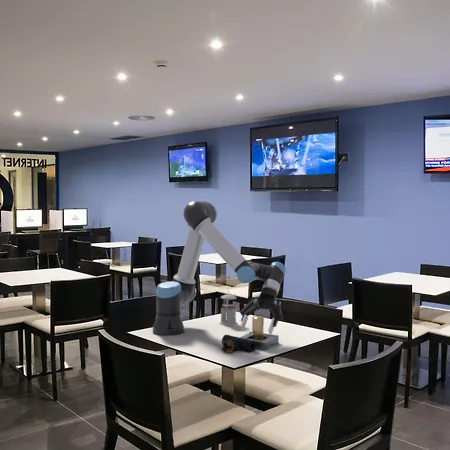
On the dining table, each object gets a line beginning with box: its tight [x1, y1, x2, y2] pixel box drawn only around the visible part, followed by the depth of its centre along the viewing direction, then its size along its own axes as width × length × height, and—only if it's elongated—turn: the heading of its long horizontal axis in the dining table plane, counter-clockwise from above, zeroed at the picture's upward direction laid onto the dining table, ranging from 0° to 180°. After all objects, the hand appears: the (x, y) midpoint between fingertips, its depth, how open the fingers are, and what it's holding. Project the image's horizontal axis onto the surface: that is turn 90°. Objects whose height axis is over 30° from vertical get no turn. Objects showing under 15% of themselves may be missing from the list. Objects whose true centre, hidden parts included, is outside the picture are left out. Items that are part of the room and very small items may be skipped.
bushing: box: [251, 315, 265, 341], centre depth 225 cm, size 5×5×12 cm
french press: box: [218, 275, 238, 327], centre depth 266 cm, size 10×12×25 cm
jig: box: [239, 331, 279, 351], centre depth 226 cm, size 14×14×3 cm
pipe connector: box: [221, 334, 257, 354], centre depth 216 cm, size 12×5×15 cm
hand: (255, 330), depth 223 cm, fingers open, 13 cm apart
